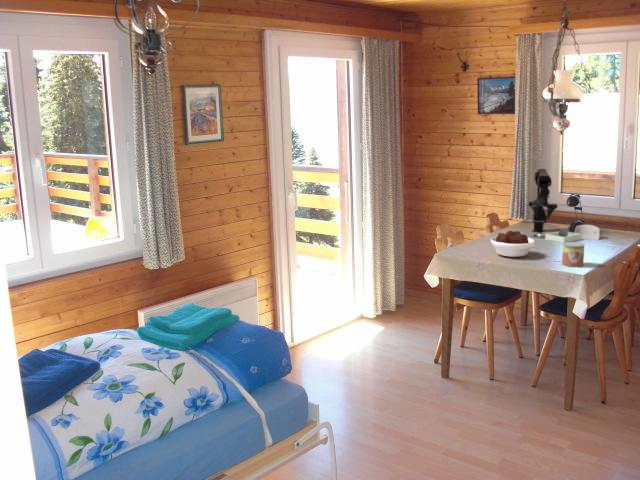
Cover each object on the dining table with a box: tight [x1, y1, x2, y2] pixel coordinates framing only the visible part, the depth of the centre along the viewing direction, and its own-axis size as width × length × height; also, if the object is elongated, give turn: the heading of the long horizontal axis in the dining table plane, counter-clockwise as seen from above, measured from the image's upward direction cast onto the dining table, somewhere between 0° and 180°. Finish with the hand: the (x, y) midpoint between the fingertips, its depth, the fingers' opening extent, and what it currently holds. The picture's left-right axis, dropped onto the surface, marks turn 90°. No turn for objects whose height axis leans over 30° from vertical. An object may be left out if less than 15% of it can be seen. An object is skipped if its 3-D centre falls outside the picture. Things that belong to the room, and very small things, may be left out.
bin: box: [544, 231, 582, 244], centre depth 469 cm, size 18×14×4 cm
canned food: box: [561, 241, 585, 268], centre depth 402 cm, size 11×11×12 cm
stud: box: [530, 232, 546, 239], centre depth 480 cm, size 9×9×2 cm
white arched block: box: [573, 224, 601, 241], centre depth 474 cm, size 17×5×10 cm, turn 60°
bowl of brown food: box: [490, 230, 536, 258], centre depth 426 cm, size 25×25×15 cm
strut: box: [558, 225, 569, 237], centre depth 468 cm, size 4×4×8 cm
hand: (542, 218), depth 475 cm, fingers open, 9 cm apart
